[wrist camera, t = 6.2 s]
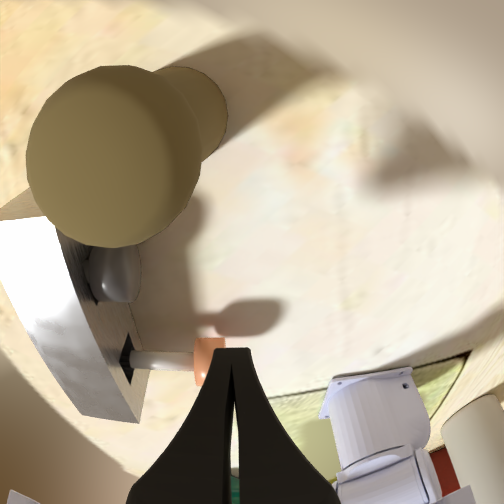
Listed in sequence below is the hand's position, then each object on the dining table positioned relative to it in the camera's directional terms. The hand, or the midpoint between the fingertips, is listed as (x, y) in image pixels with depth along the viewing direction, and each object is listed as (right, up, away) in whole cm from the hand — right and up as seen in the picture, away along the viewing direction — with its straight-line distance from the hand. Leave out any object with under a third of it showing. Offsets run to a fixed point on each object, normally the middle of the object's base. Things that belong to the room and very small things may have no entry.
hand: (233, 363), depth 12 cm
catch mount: (-11, +1, +10) cm, 15 cm away
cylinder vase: (+40, -25, +28) cm, 55 cm away
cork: (-4, +12, +4) cm, 13 cm away
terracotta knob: (-5, -3, +11) cm, 12 cm away
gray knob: (-10, +4, +6) cm, 12 cm away
